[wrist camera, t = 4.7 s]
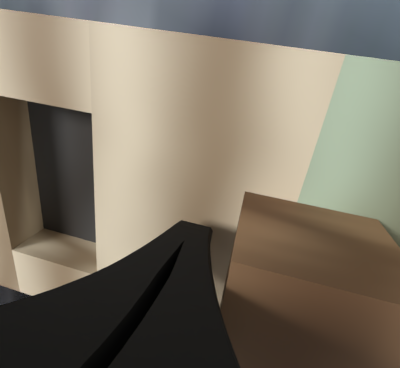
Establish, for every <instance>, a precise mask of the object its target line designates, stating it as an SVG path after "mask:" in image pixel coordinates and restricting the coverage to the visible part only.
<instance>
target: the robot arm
mask: <svg viewBox="0 0 400 368" xmlns="http://www.w3.org/2000/svg"><path fill="white" fill-rule="evenodd" d="M212 233H213V230H212V229H211V227H207V226H203V225H199V224H195V223H191V222H187V221H183V220H181V221H179V222H177V223H176V224H175V225H173V226H172V227H170V228H169V229H168V230H166V231H165V232H164V233H162V234H161V235H159V236H158V237H156V238H155V239H153V240H152V241H150V242H149V243H147V244H146V245H144V246H143V247H141V248H139V249H138V250H136V251H134V252H133V253H131V254H129V255H127V256H126V257H124V258H122V259H121V260H119V261H117V262H115V263H113V264H111V265H109V266H107V267H105V268H103V269H101V270H99V271H96V272H94V273H92V274H90V275H87V276H85V277H82V278H80V279H77V280H75V281H72V282H70V283H67V284H65V285H62V286H59V287H57V288H54V289H51V290H48V291H45V292H42V293H39V294H36V295H33V296H30V297H27V298H24V299H20V300H17V301H14V302H11V303H7V304H4V305H0V368H240V365H239V363H238V360H237V357H236V355H235V352H234V349H233V347H232V344H231V341H230V338H229V336H228V333H227V330H226V327H225V323H224V320H223V317H222V314H221V310H220V306H219V302H218V298H217V294H216V289H215V284H214V279H213V272H212V264H211V252H210V244H211V238H212Z"/></svg>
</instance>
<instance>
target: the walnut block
mask: <svg viewBox="0 0 400 368" xmlns="http://www.w3.org/2000/svg"><path fill="white" fill-rule="evenodd" d="M220 310H221V314H222V317H223V320H224V323H225V327H226V330H227V333H228V336H229V338H230V341H231V344H232V347H233V349H234V352H235V355H236V357H237V360H238V363H239V365H240V368H400V248H399V246H398V245H397V244H396V242H395V241H394V240H393V238H392V237H391V236H390V235H389V233H388V232H387V231H386V229H385V228H384V227H383V225H382V224H381V223H380V222H379V220H377V219H372V218H368V217H363V216H358V215H354V214H349V213H344V212H340V211H335V210H330V209H326V208H321V207H316V206H312V205H307V204H302V203H297V202H293V201H288V200H283V199H279V198H274V197H269V196H265V195H260V194H255V193H251V192H246V191H245V194H244V198H243V203H242V207H241V212H240V216H239V221H238V225H237V230H236V235H235V239H234V244H233V248H232V253H231V257H230V262H229V266H228V271H227V276H226V280H225V285H224V290H223V295H222V299H221V304H220Z"/></svg>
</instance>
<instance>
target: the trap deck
mask: <svg viewBox="0 0 400 368" xmlns="http://www.w3.org/2000/svg"><path fill="white" fill-rule="evenodd" d="M245 191H246V192H251V193H255V194H260V195H265V196H269V197H274V198H279V199H283V200H288V201H293V202H297V203H302V204H307V205H312V206H316V207H321V208H326V209H330V210H335V211H340V212H344V213H349V214H354V215H358V216H363V217H368V218H372V219H377V220H379V222H380V223H381V224H382V225H383V227H384V228H385V229H386V231H387V232H388V233H389V235H390V236H391V237H392V238H393V240H394V241H395V242H396V244H397V245H398V246H399V248H400V61H392V60H385V59H377V58H369V57H362V56H354V55H347V54H339V53H331V52H324V51H316V50H309V49H301V48H293V47H286V46H278V45H271V44H263V43H256V42H248V41H240V40H233V39H225V38H218V37H210V36H202V35H195V34H187V33H180V32H172V31H164V30H157V29H149V28H142V27H134V26H126V25H119V24H111V23H104V22H96V21H89V20H81V19H73V18H66V17H58V16H51V15H43V14H35V13H28V12H20V11H13V10H5V9H0V285H1V286H4V287H7V288H10V289H13V290H16V291H19V292H22V293H25V294H28V295H31V296H33V295H36V294H39V293H42V292H45V291H48V290H51V289H54V288H57V287H59V286H62V285H65V284H67V283H70V282H72V281H75V280H77V279H80V278H82V277H85V276H87V275H90V274H92V273H94V272H96V271H99V270H101V269H103V268H105V267H107V266H109V265H111V264H113V263H115V262H117V261H119V260H121V259H122V258H124V257H126V256H127V255H129V254H131V253H133V252H134V251H136V250H138V249H139V248H141V247H143V246H144V245H146V244H147V243H149V242H150V241H152V240H153V239H155V238H156V237H158V236H159V235H161V234H162V233H164V232H165V231H166V230H168V229H169V228H170V227H172V226H173V225H175V224H176V223H177V222H179V221H181V220H183V221H187V222H191V223H195V224H199V225H203V226H207V227H211V229H212V230H213V233H212V238H211V244H210V252H211V264H212V272H213V279H214V284H215V289H216V294H217V298H218V302H219V306H220V304H221V299H222V295H223V290H224V285H225V280H226V276H227V271H228V266H229V262H230V257H231V253H232V248H233V244H234V239H235V235H236V230H237V225H238V221H239V216H240V212H241V207H242V203H243V198H244V194H245Z"/></svg>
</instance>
